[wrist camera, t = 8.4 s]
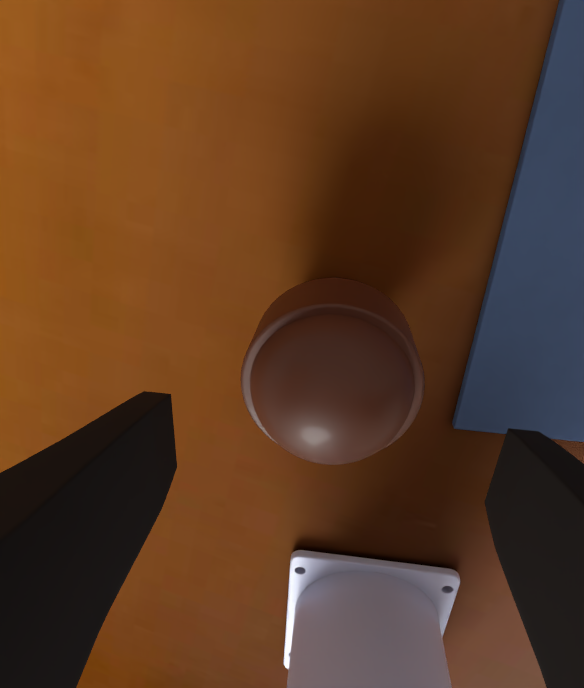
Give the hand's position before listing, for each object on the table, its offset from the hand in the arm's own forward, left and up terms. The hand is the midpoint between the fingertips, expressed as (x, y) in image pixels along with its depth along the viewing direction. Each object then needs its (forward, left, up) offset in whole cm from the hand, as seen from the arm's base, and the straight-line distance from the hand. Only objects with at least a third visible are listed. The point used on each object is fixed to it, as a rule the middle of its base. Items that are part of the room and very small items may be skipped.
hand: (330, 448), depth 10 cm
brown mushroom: (0, 0, -7) cm, 7 cm away
